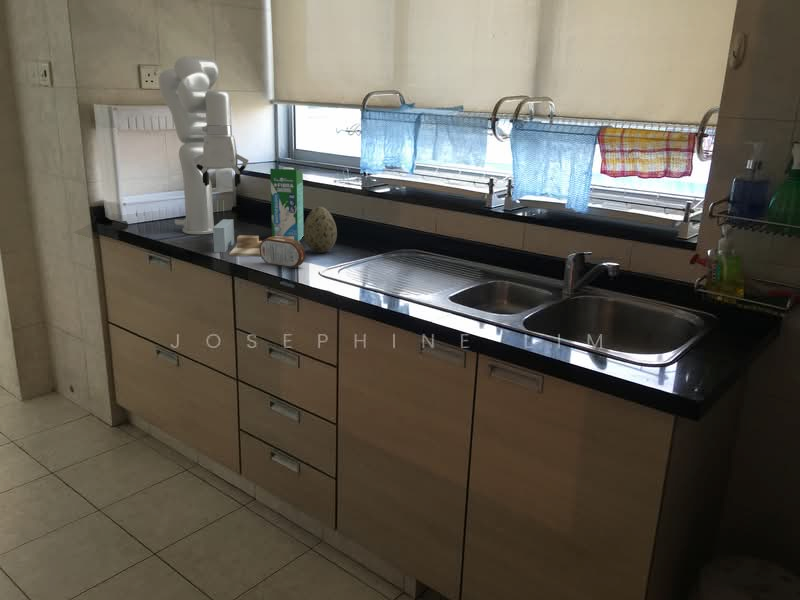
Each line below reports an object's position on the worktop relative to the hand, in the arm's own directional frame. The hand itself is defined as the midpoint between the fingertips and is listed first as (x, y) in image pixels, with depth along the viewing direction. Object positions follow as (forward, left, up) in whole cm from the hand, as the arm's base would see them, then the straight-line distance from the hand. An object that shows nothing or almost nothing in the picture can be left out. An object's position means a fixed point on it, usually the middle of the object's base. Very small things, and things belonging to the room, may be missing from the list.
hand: (222, 185), depth 220 cm
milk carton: (+19, +15, -20) cm, 32 cm away
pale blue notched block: (0, 0, -20) cm, 20 cm away
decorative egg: (+32, -4, -20) cm, 38 cm away
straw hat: (+14, -2, -20) cm, 25 cm away
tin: (+22, -22, -21) cm, 37 cm away
